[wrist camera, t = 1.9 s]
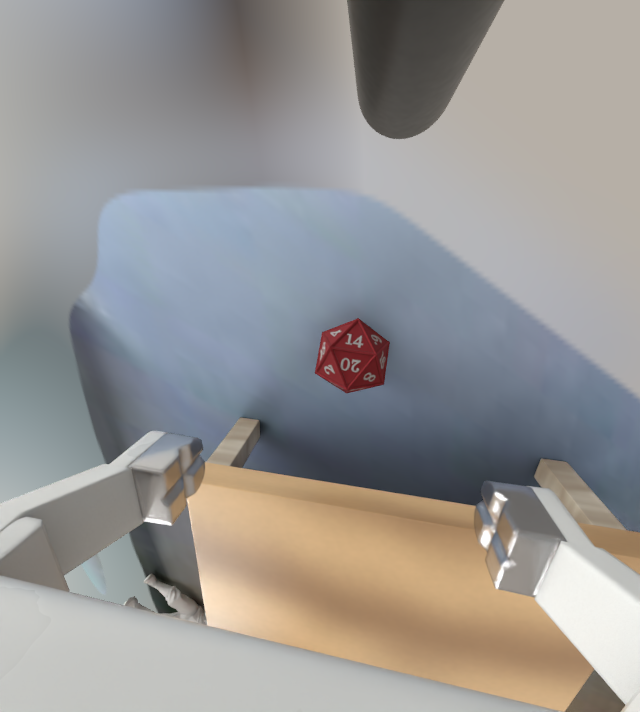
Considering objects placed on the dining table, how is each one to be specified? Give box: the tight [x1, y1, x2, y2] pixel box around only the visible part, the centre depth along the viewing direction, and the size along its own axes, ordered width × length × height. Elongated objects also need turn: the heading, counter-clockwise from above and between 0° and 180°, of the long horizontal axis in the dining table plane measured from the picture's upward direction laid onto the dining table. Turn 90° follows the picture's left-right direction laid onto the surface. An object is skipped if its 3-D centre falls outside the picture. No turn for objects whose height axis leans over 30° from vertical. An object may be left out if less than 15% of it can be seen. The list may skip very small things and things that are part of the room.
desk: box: [187, 418, 640, 712], centre depth 19 cm, size 14×22×6 cm, turn 88°
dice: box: [315, 318, 390, 393], centre depth 16 cm, size 4×4×4 cm
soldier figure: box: [123, 574, 208, 626], centre depth 29 cm, size 8×5×12 cm
